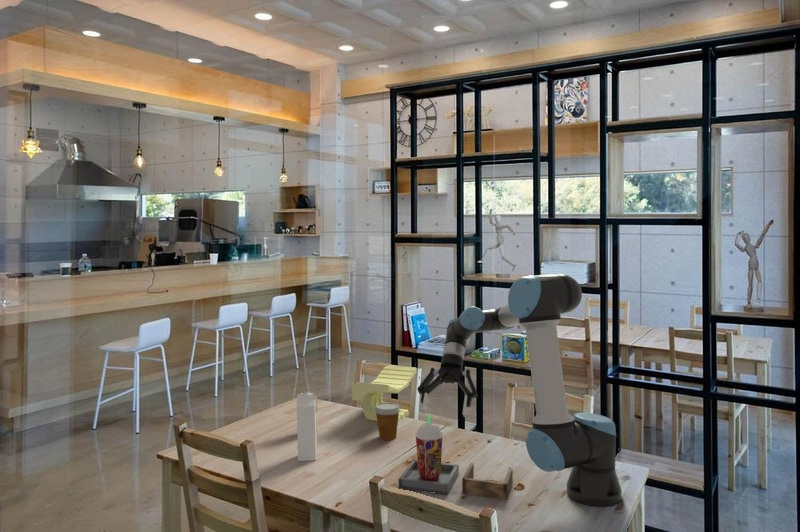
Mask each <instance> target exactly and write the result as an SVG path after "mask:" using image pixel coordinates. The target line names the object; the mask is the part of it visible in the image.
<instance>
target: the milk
mask: <svg viewBox="0 0 800 532" xmlns="http://www.w3.org/2000/svg"><path fill="white" fill-rule="evenodd" d="M296 397H297V398H296V399H297V400H296V421H297V422H296V428H297V429H296V430H297V432H296V433H297V461H298V462H312V461H313V462H314V461H317V453H318V452H317V450H318V449H317V445H318V444H317V432H316V431H317V413H316V402H315V395H314V394H305V395H299V394H297V396H296Z"/></svg>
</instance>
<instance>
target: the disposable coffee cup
mask: <svg viewBox="0 0 800 532" xmlns="http://www.w3.org/2000/svg"><path fill="white" fill-rule="evenodd" d="M400 409H401V408H400V406H399V403H396V402H391V401H390V402H387V401H386V402H384V403H380V404H377V405H376V408H375V412H376V416H377V421H376V422H377V428H378V429H377V430H378V437H379V439H380V440H383V441H392V439H393V440H395V439H396V438H397V434H398V424H399V422H398V416H399V411H400Z"/></svg>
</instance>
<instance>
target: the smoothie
mask: <svg viewBox="0 0 800 532" xmlns="http://www.w3.org/2000/svg"><path fill="white" fill-rule="evenodd" d="M414 435H415V443H416V444H415V446H416V457H417V459H416V460H418V474H419V475H420V478H421V479H422V480H424V481H436V480H437V479H439V476H440V474H441V463H442V453H443V452H442V451H443V436H444V434H443V432H442V431H441V428H440V427H439V426H438V425H437V424H436V423H433V422H432V421H431V414H430V413H428V414H427V422H424V423H423V424H421V425H420V426H419V427H418V428H417V431H416V432H415V434H414Z"/></svg>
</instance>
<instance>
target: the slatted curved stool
mask: <svg viewBox="0 0 800 532" xmlns="http://www.w3.org/2000/svg"><path fill="white" fill-rule="evenodd" d="M416 374H417V367H413V366H403V365H401V366H400V365H390V364H389V365H386V366H384V367H383V368H382V369H381V371H380V372H379V373H378V375H377V376H376V377H375V379H374V380H372V382H364V381H362V382H361V381H358V382H357V381H356V382H355V383H354V384H353V385H352V387H351V400H352V401H357V402H358V401H359V402H361V403H362V411H363V415H364V417H365V418H366V419H367V420H369V419H370V420H369V421H376V422H377V416H376V412H375V408H376V405H377V404H380V403H385V401H384V394H399V393H400V392H401V391H402V390H404V389H406V388H408V387H409V385H410V383H412V379H414V376H416ZM408 415H410V411H409V409H403V408H400V411H399V416H398V423H400V422H401V421H402V420H404V418H406V417H407V416H408ZM401 419H402V420H401ZM400 420H401V421H400ZM399 421H400V422H399Z"/></svg>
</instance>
